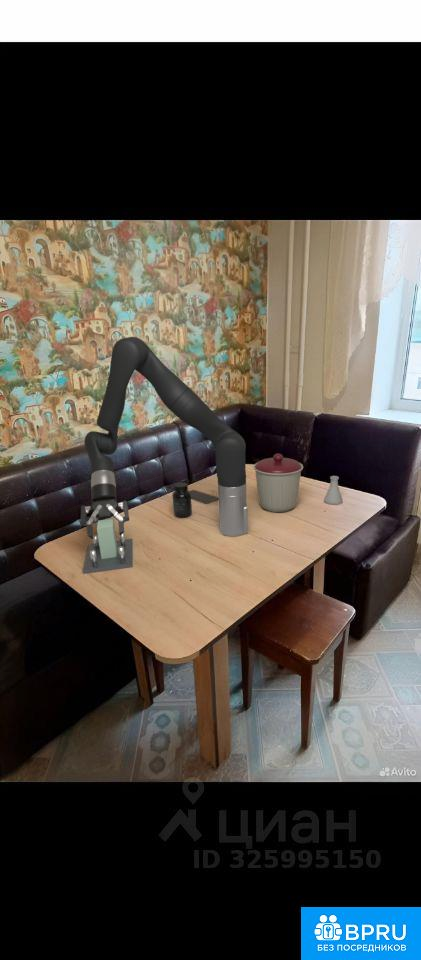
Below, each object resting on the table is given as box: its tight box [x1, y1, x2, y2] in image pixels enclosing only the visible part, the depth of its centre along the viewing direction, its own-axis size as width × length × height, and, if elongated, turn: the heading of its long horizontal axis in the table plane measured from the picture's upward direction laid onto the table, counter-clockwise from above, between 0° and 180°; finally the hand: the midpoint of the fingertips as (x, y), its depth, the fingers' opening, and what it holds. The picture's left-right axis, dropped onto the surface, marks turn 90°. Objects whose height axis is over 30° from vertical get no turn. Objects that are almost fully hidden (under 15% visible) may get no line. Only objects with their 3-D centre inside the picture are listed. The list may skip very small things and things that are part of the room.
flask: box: [323, 475, 343, 505], centre depth 156 cm, size 7×7×10 cm
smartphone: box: [189, 489, 219, 505], centre depth 168 cm, size 7×1×16 cm
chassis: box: [82, 532, 134, 575], centre depth 124 cm, size 14×16×5 cm
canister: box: [252, 453, 304, 513], centre depth 151 cm, size 18×18×21 cm
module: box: [96, 518, 117, 559], centre depth 123 cm, size 4×6×10 cm
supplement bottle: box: [172, 482, 193, 519], centre depth 150 cm, size 7×7×12 cm
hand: (106, 536), depth 121 cm, fingers open, 8 cm apart
